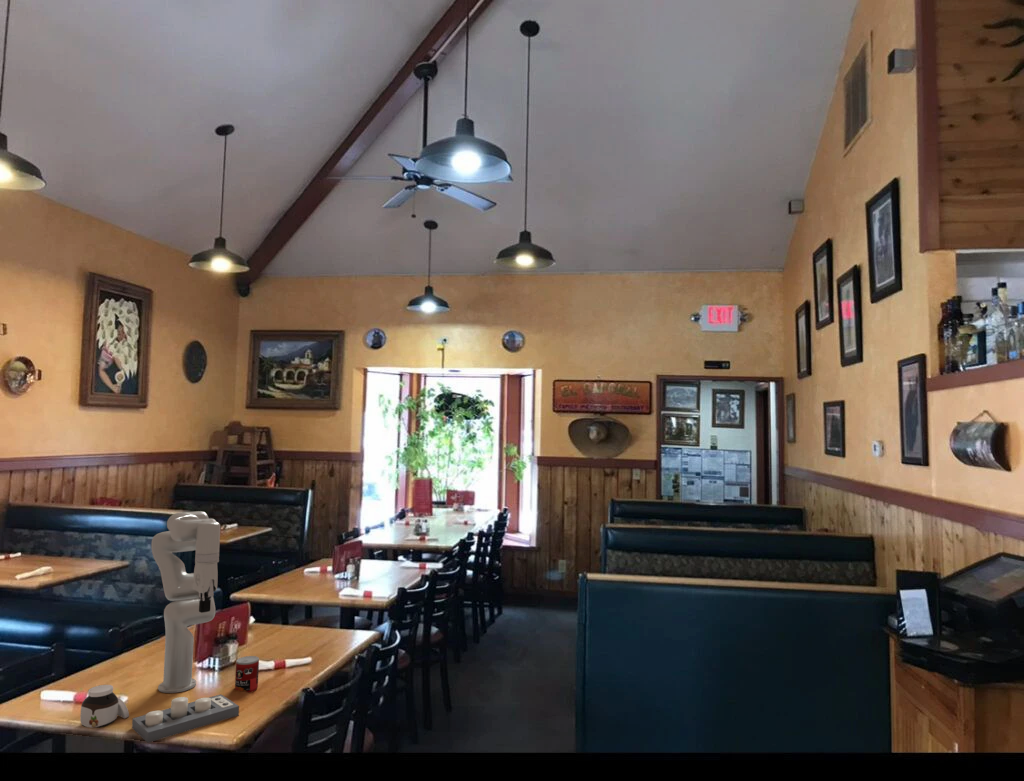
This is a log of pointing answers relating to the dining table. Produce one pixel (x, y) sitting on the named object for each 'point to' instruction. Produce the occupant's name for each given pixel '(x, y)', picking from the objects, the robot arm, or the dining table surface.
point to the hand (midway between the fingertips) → (204, 611)
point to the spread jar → (101, 707)
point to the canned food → (247, 674)
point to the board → (186, 719)
